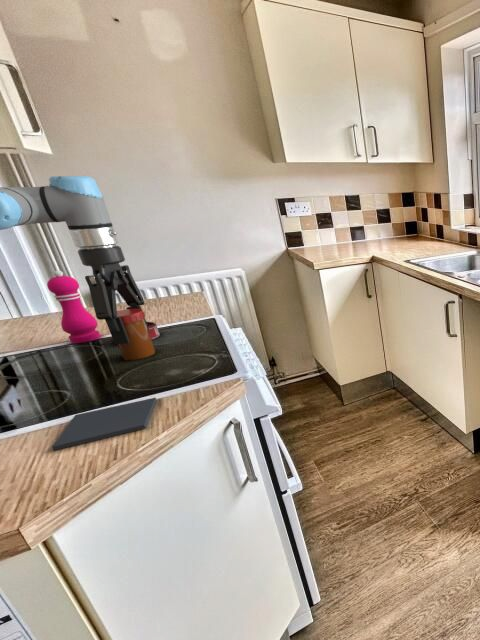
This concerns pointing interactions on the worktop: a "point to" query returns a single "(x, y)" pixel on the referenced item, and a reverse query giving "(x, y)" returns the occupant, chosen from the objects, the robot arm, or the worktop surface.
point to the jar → (137, 341)
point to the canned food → (153, 330)
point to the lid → (131, 315)
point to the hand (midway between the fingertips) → (132, 336)
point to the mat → (106, 423)
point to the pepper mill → (73, 309)
